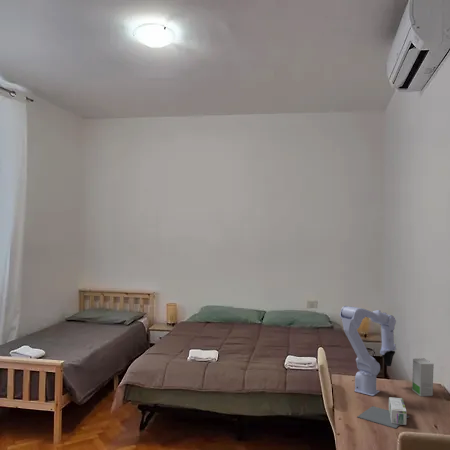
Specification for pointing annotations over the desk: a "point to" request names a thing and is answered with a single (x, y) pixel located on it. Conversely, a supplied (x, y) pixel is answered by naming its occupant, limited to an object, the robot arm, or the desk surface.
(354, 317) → the robot arm
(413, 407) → the desk surface
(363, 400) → the desk surface
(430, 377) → the skincare box
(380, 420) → the mat
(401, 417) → the syrup box
